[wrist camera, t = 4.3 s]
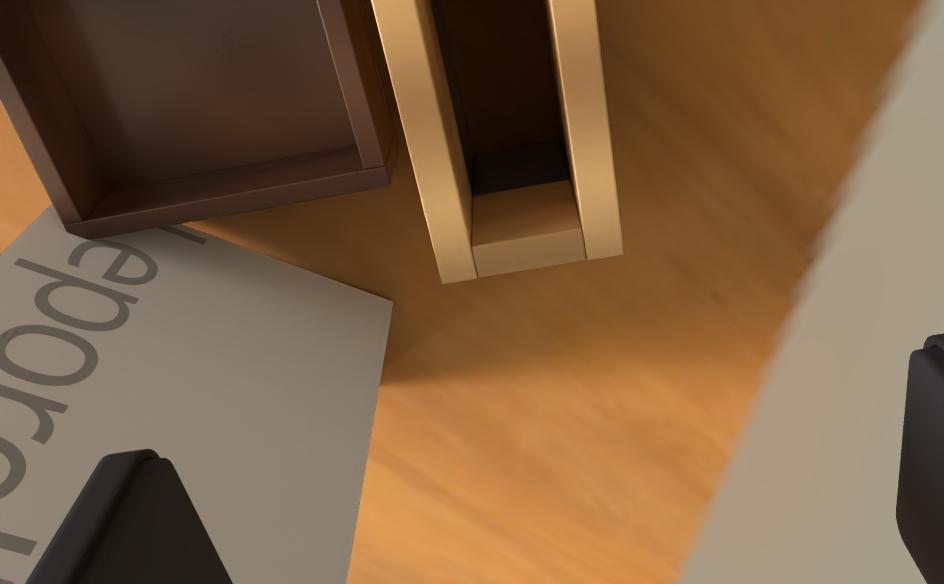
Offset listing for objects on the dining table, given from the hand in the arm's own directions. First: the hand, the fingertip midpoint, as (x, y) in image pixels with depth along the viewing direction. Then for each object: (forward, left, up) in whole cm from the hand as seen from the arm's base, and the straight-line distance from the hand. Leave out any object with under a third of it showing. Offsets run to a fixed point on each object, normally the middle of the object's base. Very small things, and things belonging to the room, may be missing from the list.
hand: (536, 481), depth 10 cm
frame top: (0, 0, -19) cm, 19 cm away
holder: (-4, -11, -23) cm, 26 cm away
